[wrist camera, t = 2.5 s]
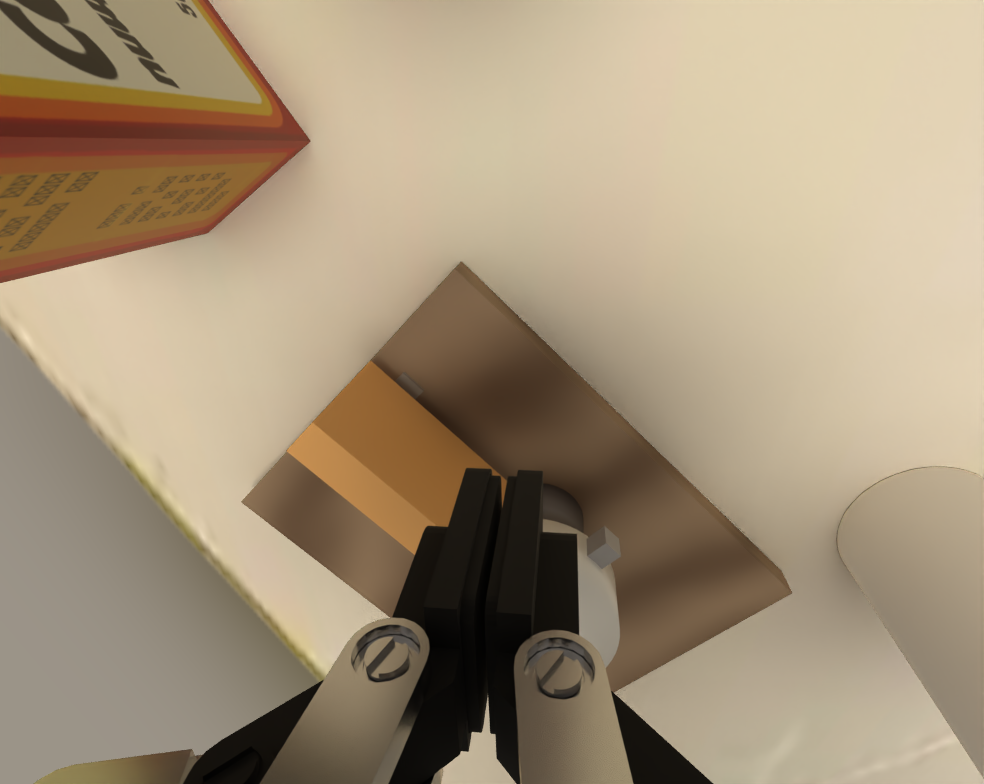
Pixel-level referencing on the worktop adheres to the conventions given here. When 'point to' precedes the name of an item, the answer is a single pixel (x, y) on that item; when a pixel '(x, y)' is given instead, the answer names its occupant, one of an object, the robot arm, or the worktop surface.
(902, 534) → the cylindrical container
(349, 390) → the cap
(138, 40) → the baking soda box
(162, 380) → the worktop surface
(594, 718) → the robot arm
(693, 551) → the post base
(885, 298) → the worktop surface
